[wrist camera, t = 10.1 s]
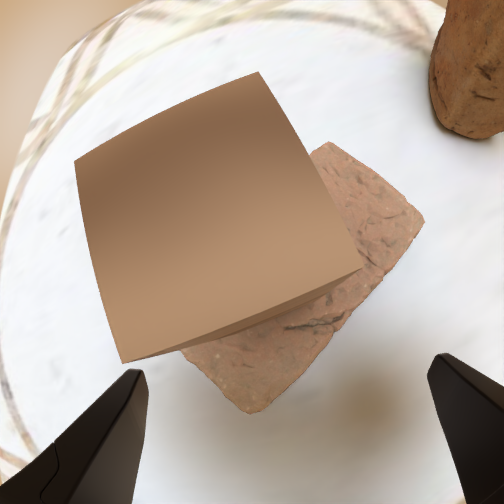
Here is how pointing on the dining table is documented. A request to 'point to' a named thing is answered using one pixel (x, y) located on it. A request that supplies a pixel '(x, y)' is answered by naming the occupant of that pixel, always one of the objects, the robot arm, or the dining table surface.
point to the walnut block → (208, 222)
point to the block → (470, 68)
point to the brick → (325, 308)
